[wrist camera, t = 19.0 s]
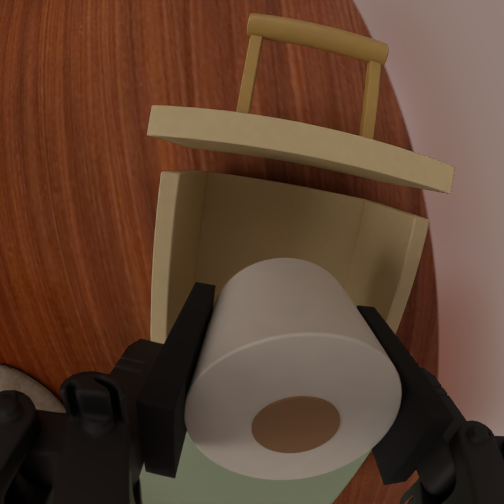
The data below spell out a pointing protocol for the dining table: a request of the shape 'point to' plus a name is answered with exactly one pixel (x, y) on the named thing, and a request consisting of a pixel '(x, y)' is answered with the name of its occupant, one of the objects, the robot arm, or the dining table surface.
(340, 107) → the dining table surface
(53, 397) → the bowl
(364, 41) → the drawer
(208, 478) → the cabinet
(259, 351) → the paper roll
